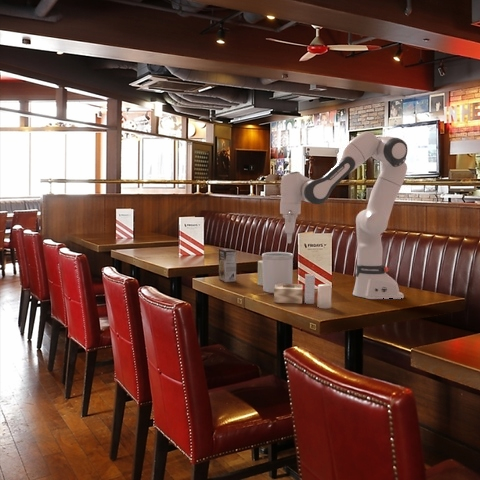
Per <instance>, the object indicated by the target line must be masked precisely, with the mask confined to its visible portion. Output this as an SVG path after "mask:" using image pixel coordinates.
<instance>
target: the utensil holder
mask: <svg viewBox="0 0 480 480" xmlns="http://www.w3.org/2000/svg"><path fill="white" fill-rule="evenodd" d="M261 258H262V259H261V260H262V264H263V286H262V289H263V290H262V291H263V292H266V293H269V294H274V287H275V284H276V283H279V284H293V273H294V272H293V271H294V270H293V266H294V265H293V264H294V263H293V261H294V259H293V258H294V253H291V252H286V251H284V252H283V251H270V252H269V251H267V252H263V253H262V254H261Z"/></svg>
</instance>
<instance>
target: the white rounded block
mask: <svg viewBox="0 0 480 480" xmlns="http://www.w3.org/2000/svg"><path fill="white" fill-rule="evenodd" d="M316 299H317V305H316V307H317V308H318V307H319V309H331V308H332V285H331V284H327V283H320V284H318V285H317V298H316Z"/></svg>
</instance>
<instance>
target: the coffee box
mask: <svg viewBox="0 0 480 480" xmlns="http://www.w3.org/2000/svg"><path fill="white" fill-rule="evenodd" d="M218 280H221V281H222V282H225V283H231V282H232V283H233V282H236V281H237V250H235V249H233V248H218Z"/></svg>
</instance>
